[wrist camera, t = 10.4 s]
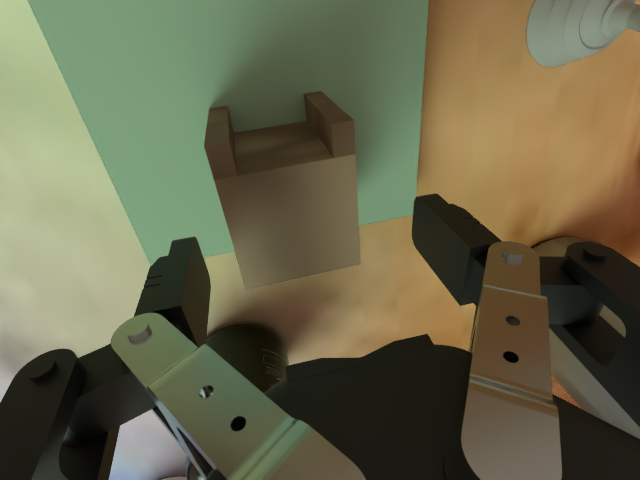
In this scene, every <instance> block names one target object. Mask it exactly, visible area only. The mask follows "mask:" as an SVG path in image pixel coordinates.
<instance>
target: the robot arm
mask: <svg viewBox="0 0 640 480" xmlns="http://www.w3.org/2000/svg"><path fill="white" fill-rule="evenodd" d="M412 239H413V243H414V245H415V247H416V249H417V250H418V252H419V253H420V254H421V255H422V257H423V258H424V259H425V261H426V262H427V263H428V265H429V266H430V267H431V268H432V270H433V271H434V272H435V274H436V275H437V276H438V278H439V279H440V280H441V281H442V283H443V284H444V285H445V287H446V288H447V289H448V291H449V292H450V293H451V295H452V296H453V297H454V298H455V300H456V301H457V302H458V304H459V305H460V306H461V305H466V304H470V303H474V304H475V305H476V310H475V315H474V321H473V327H472V333H471V338H470V344H469V350H468V351H466V350H463V349H460V348H456V347H452V346H447V345H434V344H433V342H432V341H431V339H430V337H429V336H428V334H424V335H420V336H416V337H411V338H407V339H403V340H398V341H394V342H392V343H390V344H388V345H386V346H384V347H382V348H380V349H378V350H376V351H374V352H372V353H370V354H368V355H366V356H363V357H360V358H320V359H315V360H311V361H307V362H302V363H298V364H294V365H289V366H285V370H286V377H287V378H286V379H284V380H282V381H280V382H278V383H277V384H275V385H274V386H272V387H271V388H270V389H268V390H267V391H266V392H265V393H264V394H263V393H262V392H261V391H260V390H259V389H258V388H256V387H255V386H254V385H253V384H252V383H251V382H249V381H248V380H247V379H246V378H245V377H244V376H242V375H241V374H240V373H239V372H238V371H237V370H235V369H234V368H233V367H232V366H231V365H230V364H228V363H227V362H226V361H225V360H224V359H223V358H221V357H220V356H219V355H218V354H217V353H216V352H214V351H213V350H212V349H211V348H210V347H208V346H207V345H206V337H207V325H208V313H209V301H210V289H211V285H210V277H209V273H208V270H207V267H206V264H205V261H204V258H203V255H202V252H201V249H200V246H199V243H198V241H197V239H196V237H195V236H194V237H188V238H183V239H177V240H173V241H172V243H171V246H170V250H169V254H168V256H163V257H159V258H158V259H157V260H156V261H155V263H154V264H153V265H152V266H151V267H150V269H149V272H148V275H147V280H146V281H145V284H144V289H143V290H142V293H141V297H140V300H139V303H138V306H137V309H136V312H135V315H134V317H133V318H131V319H129V320H127V321H126V322H124V323H123V324H122V325H121V326H119V328H118V329H117V330H116V331H115V332H114V334H113V336H112V338H111V343H110V344H109V345H107V346H105V347H103V348H100V349H98V350H96V351H93V352H91V353H89V354H86V355H84V356H82V357H80V358H78V357H77V356H76V355H75V353H74V352H73V351H71V350H69V349H57V350H52V351H49V352H46V353H44V354H42V355H40V356H38V357H36V358H35V359H33V360H32V361H30V362H29V363H27V364H26V365H25V366H24V367H23V368H22V369H21V370H20V371H19V372H18V373H17V374H16V375H15V377H14V379H13V380H12V382H11V384H10V386H9V388H8V390H7V391H6V393H5V395H4V397H3V399H2V401H1V403H0V480H109V475H110V470H111V465H112V461H113V456H114V451H115V447H116V442H117V437H118V432H119V428H120V425H122V424H124V423H126V422H128V421H130V420H131V419H133V418H135V417H137V416H139V415H141V414H143V413H145V412H147V411H149V410H152V412H153V413H154V414H155V415H156V417H157V418H158V419H159V420H160V422H161V423H162V424H163V425H164V427H165V428H166V429H167V430H168V432H169V433H170V434H171V435H172V437H173V438H174V439H175V440H176V442H177V443H178V444H179V445H180V447H181V448H182V449H183V450H184V452H185V453H186V454H187V456H188V457H189V459H190V460H191V462H192V463H193V464H194V466H195V467H196V469H197V470H198V471H199V473H200V474H201V475H202V477H203V478H204V479H205V480H640V267H638V266H637V265H636V264H634V263H633V262H631V261H630V260H628V259H627V258H625V257H624V256H622V255H621V254H619V253H618V252H616V251H615V250H613V249H611V248H609V247H607V246H604V245H602V244H601V243H592V242H585V241H583V240H582V239H579V238H575V237H561V238H556V239H552V240H549V241H547V242H544V243H542V244H540V245H538V246H536V247H534V248H533V249H532V248H530V247H529V246H527V245H524V244H521V243H517V242H511V241H501V240H500V239H499V238H498V237H496V236H495V235H494V234H493V233H492V232H491V231H489V230H488V229H487V228H486V227H485V226H484V225H482V224H480V222H479V221H478V220H477V219H476V218H473V216H472V215H471V214H470V213H469V212H467V211H466V210H465V209H463V208H461V207H459V206H456V205H454V204H448V203H447V202H446V201H445V200H444V199H443V198H442V197H440V196H439V195H438V194H430V195H424V196H419V197H416V198H415V200H414V207H413V223H412ZM551 375H552V376H553V377H554V378H555V379H556V380H557V381H558V383H559V384H560V385H561V386H562V387H563V388H564V389H565V390H566V391H567V393H568V394H569V395H570V396H571V397H572V398H573V399H574V400H575V402H576V403H577V404H578V405H579V406H580V407H581V408H582V409H583V410H582V409H580V408H579V407H577V406H575V405H573V404H571V403H569V402H567V401H565V400H563V399H561V398H559V397H557V396H555V395H553V394H552V380H551Z"/></svg>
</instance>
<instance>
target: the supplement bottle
mask: <svg viewBox="0 0 640 480" xmlns="http://www.w3.org/2000/svg"><path fill="white" fill-rule="evenodd" d="M206 345H207V346H208V347H210V348H211V349H212V350H213V351H214V352H216V353H217V354H218V355H219V356H220V357H221V358H223V359H224V360H225V361H226V362H227V363H228V364H230V365H231V366H232V367H233V368H234V369H235V370H237V371H238V372H239V373H240V374H241V375H242V376H244V377H245V378H246V379H247V380H248V381H249V382H251V383H252V384H253V385H254V386H255V387H256V388H258V389H259V390H260V391H261V392H262V393H263V394H264V393H265V392H266V391H267V390H268V389H270V388H271V387H272V386H274V385H275V384H277V383H278V382H280V381H282V380H284V379H286V378H287V377H286V370H285V366H289V361H288V356H287V351H286V347H285V344H284V342H283V340H282V339H281V338H280V337H279V336H278V335H277V334H276V333H275V332H273V331H272V330H270V329H268V328H265V327H262V326H258V325H250V324H243V325H235V326H230V327H227V328H224V329H222V330H219V331H217V332H216V333H214V334H212V335H211V336H210V337H208V338H207V339H206ZM186 479H187V480H205V479H204V478H203V477H202V475H201V474H200V473H199V471H198V470H197V469H196V467H195V466H194V464H193V463H192V462H191V460H190V459H189V457H188V456H187V458H186Z"/></svg>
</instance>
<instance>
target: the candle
mask: <svg viewBox="0 0 640 480" xmlns="http://www.w3.org/2000/svg"><path fill="white" fill-rule="evenodd" d="M161 480H187V479H186V477H170V478H165V479H161Z"/></svg>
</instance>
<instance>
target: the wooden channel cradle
mask: <svg viewBox="0 0 640 480" xmlns="http://www.w3.org/2000/svg"><path fill="white" fill-rule="evenodd" d="M304 101H305V110H306V118H307V121H302V122H296V123H290V124H284V125H278V126H273V127H267V128H261V129H255V130H249V131H243V132H237V133H234V131H233V127H232V123H231V118H230V114H229V110H228V106H223V107H216V108H210V109H209V112H208V119H207V127H206V134H205V141H204V148H205V151H206V155H207V158H208V162H209V165H210V168H211V172H212V175H213V179H214V182H215V185H216V189H217V192H218V196H219V199H220V202H221V206H222V209H223V213H224V216H225V220H226V223H227V226H228V230H229V233H230V237H231V240H232V243H233V247H234V250H235V254H236V257H237V260H238V264H239V267H240V271H241V274H242V277H243V281H244V284H245V288H246V290H247V289H251V288H255V287H260V286H264V285H269V284H273V283H278V282H282V281H287V280H291V279H295V278H300V277H304V276H309V275H313V274H318V273H322V272H327V271H331V270H335V269H340V268H344V267H349V266H353V265H358V264H361V263H360V240H359V218H358V195H357V172H356V150H355V127H354V120H353V119H352V118H351V117H350V116H349V115H348V114H347V113H345V112H344V111H343V110H342V109H341V108H340V107H339V106H337V105H336V104H335V103H334V102H333V101H332V100H331V99H329V98H328V97H327V96H326V95H325V94H324V93H323V92H321V91H318V92H312V93H305V94H304Z"/></svg>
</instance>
